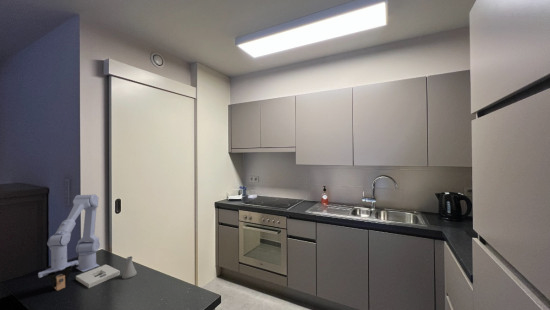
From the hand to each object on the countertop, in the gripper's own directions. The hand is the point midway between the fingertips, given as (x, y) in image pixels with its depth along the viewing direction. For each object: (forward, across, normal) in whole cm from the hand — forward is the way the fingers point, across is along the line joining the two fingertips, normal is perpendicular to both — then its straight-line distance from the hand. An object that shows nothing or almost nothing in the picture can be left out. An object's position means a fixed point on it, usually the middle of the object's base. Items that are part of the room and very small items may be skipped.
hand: (59, 284), depth 109 cm
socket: (+2, +14, -6) cm, 15 cm away
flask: (+2, +23, -20) cm, 31 cm away
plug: (+2, 0, 0) cm, 2 cm away
